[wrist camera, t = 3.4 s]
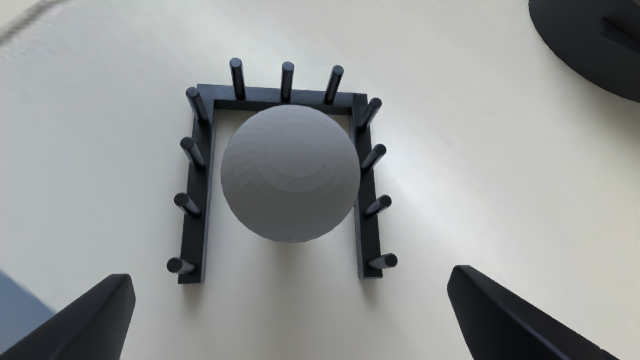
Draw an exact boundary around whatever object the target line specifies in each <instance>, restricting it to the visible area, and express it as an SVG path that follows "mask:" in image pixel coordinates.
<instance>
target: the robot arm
mask: <svg viewBox="0 0 640 360" xmlns="http://www.w3.org/2000/svg"><path fill="white" fill-rule="evenodd" d="M447 292H448V296H449V299H450V301H451V304H452V307H453V309H454V312H455V315H456V318H457V320H458V323H459V326H460V329H461V331H462V334H463V337H464V339H465V342H466V344H467V346H468V348H469V350H470V353H471V355H472V357H473V359H474V360H619V359H618V358H616V357H615V356H613V355H611V354H610V353H608V352H607V351H605V350H603V349H600V347H599V346H597V345H595V344H594V343H592V342H591V341H589V340H587V339H586V338H584V337H583V336H581V335H580V334H578V333H576V332H575V331H573V330H572V329H570V328H568V327H567V326H565V325H564V324H562V323H560V322H559V321H557V320H556V319H554V318H552V317H551V316H549V315H548V314H546V313H545V312H543V311H541V310H540V309H538V308H537V307H535V306H533V305H532V304H530V303H529V302H527V301H525V300H524V299H522V298H521V297H519V296H517V295H516V294H514V293H513V292H511V291H510V290H508V289H506V288H505V287H503V286H502V285H500V284H498V283H497V282H495V281H494V280H492V279H490V278H489V277H487V276H486V275H484V274H482V273H481V272H479V271H478V270H476V269H475V268H473V267H471V266H469V265H457V266H455V267H454V268H453V270H452V273H451V276H450V279H449V282H448V285H447ZM135 301H136V298H135V293H134V288H133V284H132V280H131V277H130V275H129V274H111V275H109V276H108V277H106V278H105V279H104V280H102V281H101V282H100V283H98V284H97V285H95V286H94V287H93V288H91V289H90V290H89V291H87V292H86V293H84V294H83V295H82V296H80V297H79V298H78V299H76V300H75V301H74V302H72V303H71V304H69V305H68V306H67V307H65V308H64V309H63V310H61V311H60V312H58V313H57V314H56V315H54V316H53V317H52V318H50V319H49V320H48V321H46V322H45V323H44V324H42V325H41V326H39V327H38V328H37V329H35V330H34V331H32V332H31V333H30V334H28V335H27V336H26V337H24V338H23V339H21V340H20V341H19V342H17V343H16V344H15V345H13V346H12V347H10V348H9V349H8V350H6V351H5V352H4V353H2V354H1V355H0V360H119V358H120V355H121V351H122V348H123V344H124V341H125V338H126V334H127V331H128V327H129V324H130V321H131V317H132V314H133V310H134V307H135Z"/></svg>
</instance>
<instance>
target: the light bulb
mask: <svg viewBox="0 0 640 360" xmlns="http://www.w3.org/2000/svg"><path fill="white" fill-rule="evenodd" d="M221 184H222V188H223V193H224V196H225V198H226V200H227V202H228V204H229V206H230V209H231V210H232V212H233V213H234V214H235V216H236V217H237V218H238V220H239V221H240V222H241V223H243V224H244V225H245V226H246V227H247V228H248V229H249V230H251V231H253V232H255V233H256V234H258V235H260V236H262V237H264V238H267V239H270V240H273V241H277V242H285V243H295V242H305V241H309V240H312V239H315V238H318V237H320V236H322V235H324V234H326V233H328V232H330V231H331V230H332V229H333V228H334V227H336V226H337V225H338V224H339V223H340V222H342V220H343V219H344V218H345V217H346V215H347V214H348V213H349V212H350V210H351V208H352V206H353V204H354V202H355V200H356V198H357V194H358V190H359V186H360V165H359V159H358V155H357V152H356V149H355V147H354V144H353V143H352V141H351V139H350V138H349V136H348V134H347V133H346V132H345V131H344V130H343V128H342V127H341V126H340V125H339V124H338V123H337V122H336V121H334V120H333V119H332V118H331V117H329V116H327V115H326V114H324V113H322V112H320V111H318V110H315V109H312V108H309V107H305V106H299V105H282V106H276V107H271V108H269V109H266V110H264V111H261V112H259V113H257V114H255V115H254V116H252V117H251V118H249V119H247V120H246V121H245V122H244V123H243V124H242V125H241V126H240V127H239V128H238V129H237V131H236V132H235V133H234V135H233V136H232V137H231V139H230V140H229V142H228V145H227V147H226V149H225V151H224V155H223V159H222V164H221Z"/></svg>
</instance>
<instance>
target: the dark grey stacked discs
mask: <svg viewBox="0 0 640 360" xmlns="http://www.w3.org/2000/svg"><path fill="white" fill-rule="evenodd" d="M529 10H530V16H531V18H532V20H533V23H534V25H535V27H536V29H537V31H538V32H539V34H540V35H541V37H542V38H543V40H544V41H545V42H546V43H547V45H548V46H549V47H550V48H551V49H552V50H553V51H554V53H555V54H556V55H557V56H558V57H559V58H561V59H562V60H563V61H564V62H565V63H566V64H567V65H568V66H569V67H571V68H572V69H573V70H575V71H576V72H578V73H579V74H580V75H582V76H583V77H584V78H586V79H587V80H589V81H591V82H592V83H594V84H596V85H598V86H599V87H601V88H603V89H605V90H607V91H609V92H611V93H614V94H616V95H618V96H620V97H623V98H626V99H629V100H632V101H636V102H639V103H640V0H529Z"/></svg>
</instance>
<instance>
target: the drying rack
mask: <svg viewBox="0 0 640 360" xmlns="http://www.w3.org/2000/svg"><path fill="white" fill-rule="evenodd" d="M230 69H231V75H232V81H233V86H225V85H209V84H197V88H195V87H190V88H188V89H187V91H186V96H187V98H188V100H189V103H190V105H191V107H192V110H193V112H194V122H193V132H192V138H190V137H185V138H183V139H182V140H181V142H180V145H181V147H182V149H183V150H184V152H185V154H186V155H187V157H188V159H189V160H190V163H189V173H188V183H187V193H178V194H177V195H176V196H175V198H174V203H175V204H176V205H177V206H178V207H179V208H180V209H181V210H183V211H184V212H185V214H184V224H183V234H182V244H181V255H180V258H178V257H173V258H171V259H170V260H169V261H168V263H167V269H168V271H170V272H172V273H178V274H179V275H178V284H203V283H204V279H205V265H206V252H207V238H208V225H209V212H210V198H211V185H212V171H213V158H214V144H215V131H216V117H217V109H227V110H248V111H264V110H266V109H269V108H271V107H276V106H282V105H299V106H305V107H309V108H312V109H315V110H318V111H320V112H322V113H324V114H331V115H348V120H349V135H350V139H351V141H352V143H353V144H354V147H355V149H356V152H357V155H358V159H359V165H360V186H359V190H358V194H357V198H356V200H355V202H354V212H355V228H356V243H357V259H358V274H359V279H374V278H382V277H383V274H382V269H385V268H391V267H395V266H396V265H397V262H398V260H397V257H396V256H395V255H394V254H392V253H389V254H385V255H382V256H381V251H380V240H379V228H378V216H377V214H379V213H380V212H382V211H383V210H385V209H386V208H388V207H389V206H390V205H391V203H392V201H391V198H390V197H389V196H388V195H382V196H381V197H379V198H378V199H377V200H376V193H375V182H374V170H373V167H374V166H375V165H376V163H377V162H378V161H379V160H380V159H381V158H382V157H383V156H384V154H385V153H386V147H385V146H384V145H383V144H377V145H376V146H375V147H374V148H373V150H372V147H371V135H370V123H371V121H372V120H373V118H374V116H375V115H376V113H377V112H378V110H379V109H380V107H381V105H382V102H381V100H380V99H379V98H372V99H371V101H370V103H369V104H368V101H367V94H361V93H343V92H337V89H338V87H339V84H340V81H341V78H342V75H343V72H344V70H343V68H342V67H341V66H339V65H336V66H334V67H333V69H332V72H331V75H330V79H329V82H328V86H327V89H326V91H310V90H293V89H292V81H293V73H294V65H293V64H292V63H291V62H284V63H283V65H282V77H281V89H276V88H259V87H245V84H244V75H243V67H242V61H241V60H240V59H238V58H233V59H231V60H230Z"/></svg>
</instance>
